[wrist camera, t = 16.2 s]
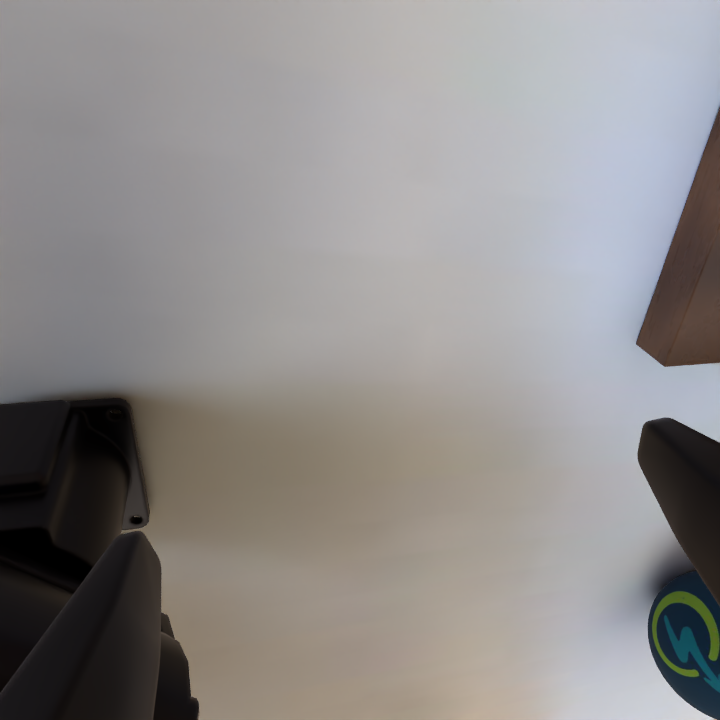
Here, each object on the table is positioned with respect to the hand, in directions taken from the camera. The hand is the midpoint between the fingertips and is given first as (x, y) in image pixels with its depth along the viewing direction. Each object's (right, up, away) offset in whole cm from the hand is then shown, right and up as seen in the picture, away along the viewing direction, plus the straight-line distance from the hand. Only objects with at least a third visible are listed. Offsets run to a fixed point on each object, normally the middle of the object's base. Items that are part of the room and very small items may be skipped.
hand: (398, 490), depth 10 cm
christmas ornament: (+20, -13, +28) cm, 37 cm away
